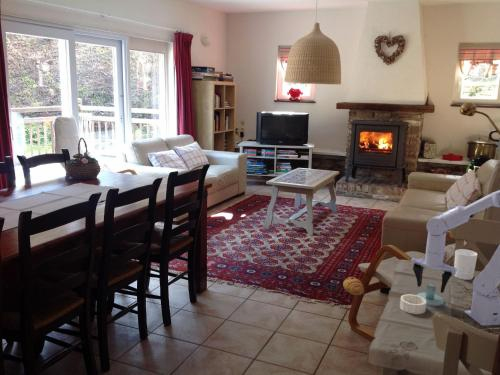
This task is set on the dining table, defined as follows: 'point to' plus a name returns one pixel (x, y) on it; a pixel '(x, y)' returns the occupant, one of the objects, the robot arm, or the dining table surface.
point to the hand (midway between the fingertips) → (430, 288)
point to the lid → (432, 296)
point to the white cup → (465, 263)
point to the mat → (441, 305)
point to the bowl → (413, 304)
